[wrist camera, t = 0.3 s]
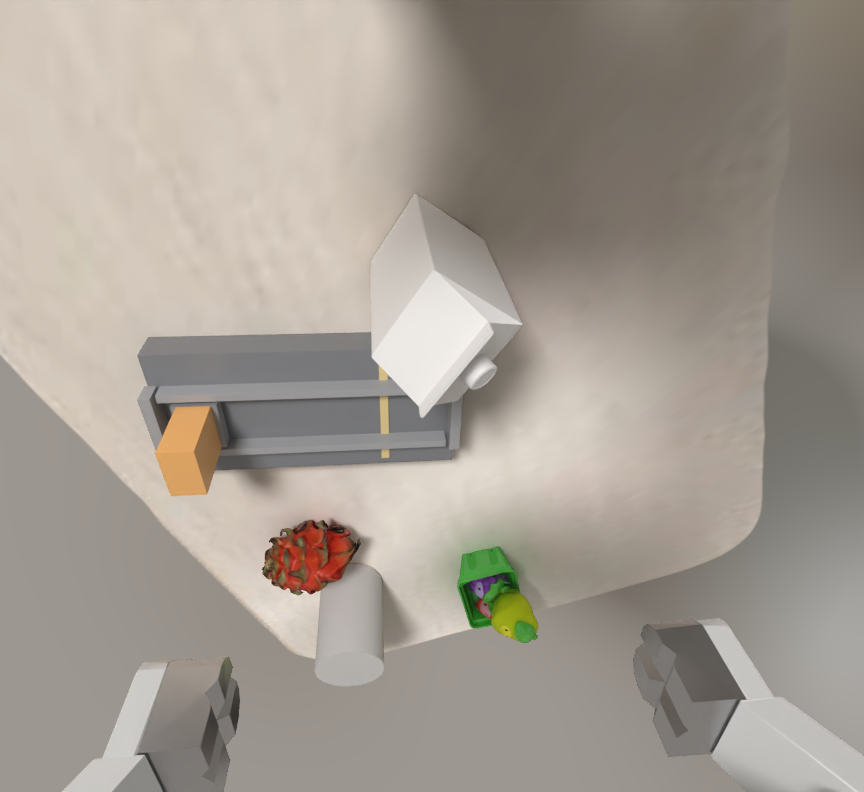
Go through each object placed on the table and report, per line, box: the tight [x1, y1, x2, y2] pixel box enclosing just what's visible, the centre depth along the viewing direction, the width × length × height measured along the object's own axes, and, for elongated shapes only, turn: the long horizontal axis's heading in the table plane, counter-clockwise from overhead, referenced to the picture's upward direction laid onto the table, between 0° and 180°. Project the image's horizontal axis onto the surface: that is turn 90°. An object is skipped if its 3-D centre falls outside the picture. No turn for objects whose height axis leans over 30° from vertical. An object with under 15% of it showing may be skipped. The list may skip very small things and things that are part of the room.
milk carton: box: [370, 194, 523, 418], centre depth 39 cm, size 7×7×19 cm
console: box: [137, 333, 464, 470], centre depth 53 cm, size 14×29×5 cm, turn 88°
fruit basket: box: [457, 547, 538, 643], centre depth 71 cm, size 11×9×11 cm
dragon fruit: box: [262, 520, 361, 595], centre depth 65 cm, size 8×8×12 cm
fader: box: [155, 401, 230, 496], centre depth 48 cm, size 5×4×7 cm
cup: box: [315, 563, 384, 686], centre depth 70 cm, size 8×8×12 cm
